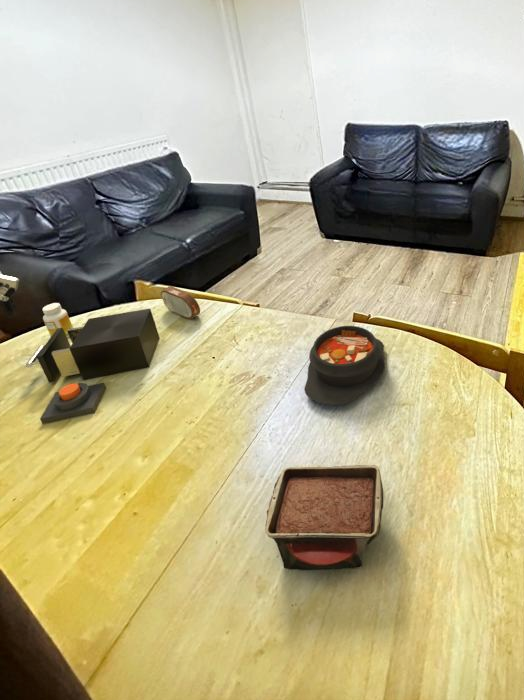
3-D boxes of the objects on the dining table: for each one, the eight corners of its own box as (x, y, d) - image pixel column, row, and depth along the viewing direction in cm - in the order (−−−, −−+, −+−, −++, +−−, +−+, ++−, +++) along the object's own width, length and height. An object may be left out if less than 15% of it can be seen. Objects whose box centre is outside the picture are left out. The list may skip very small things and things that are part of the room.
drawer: (28, 386, 98) (14, 360, 95) (49, 356, 108) (38, 331, 105) (111, 370, 102) (101, 344, 99) (124, 342, 113) (116, 318, 109)
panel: (42, 424, 89) (36, 412, 87) (58, 397, 96) (52, 386, 94) (94, 413, 91) (89, 401, 90) (106, 387, 98) (101, 376, 97)
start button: (58, 402, 90) (55, 396, 90) (65, 391, 93) (62, 385, 93) (77, 398, 91) (74, 392, 90) (83, 387, 94) (80, 381, 94)
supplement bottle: (73, 327, 122) (62, 299, 118) (75, 335, 118) (63, 306, 114) (51, 334, 119) (38, 306, 115) (52, 343, 115) (39, 314, 111)
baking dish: (298, 488, 75) (281, 454, 71) (394, 486, 72) (382, 450, 68) (272, 583, 63) (250, 549, 58) (387, 585, 60) (372, 549, 55)
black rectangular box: (83, 380, 101) (69, 348, 97) (100, 348, 112) (88, 318, 108) (149, 367, 104) (138, 336, 100) (159, 337, 116) (150, 308, 112)
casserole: (336, 334, 114) (334, 308, 110) (400, 348, 107) (399, 321, 104) (285, 399, 93) (280, 370, 89) (361, 421, 86) (358, 391, 83)
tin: (203, 318, 124) (197, 294, 120) (194, 323, 121) (187, 299, 118) (172, 305, 131) (165, 282, 127) (163, 310, 128) (156, 287, 125)
